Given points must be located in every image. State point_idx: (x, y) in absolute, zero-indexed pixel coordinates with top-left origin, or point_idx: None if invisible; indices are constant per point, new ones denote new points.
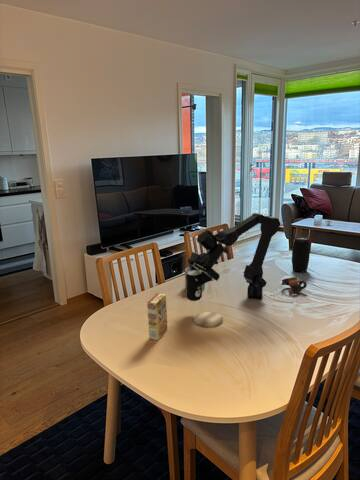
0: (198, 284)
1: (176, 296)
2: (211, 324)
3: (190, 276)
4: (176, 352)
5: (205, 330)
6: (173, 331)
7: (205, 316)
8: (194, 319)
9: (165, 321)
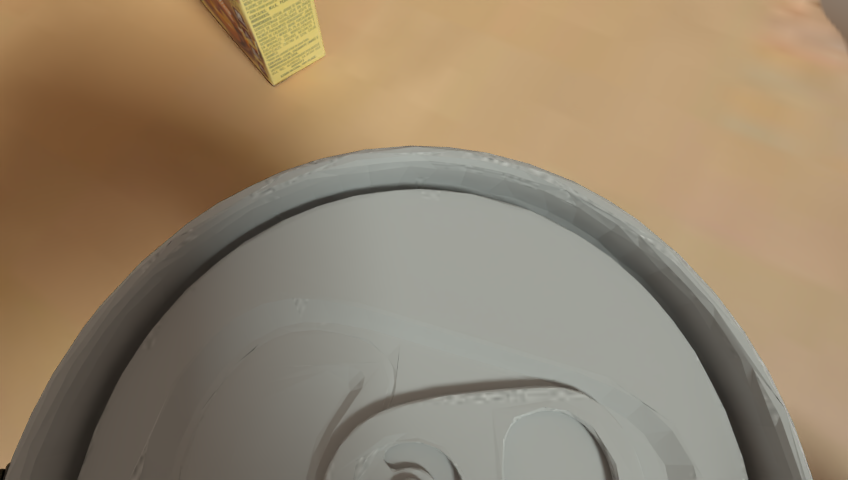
0: None
1: None
2: None
3: (270, 214)
4: (14, 16)
5: (82, 300)
6: (232, 108)
7: None
8: None
9: (226, 5)
